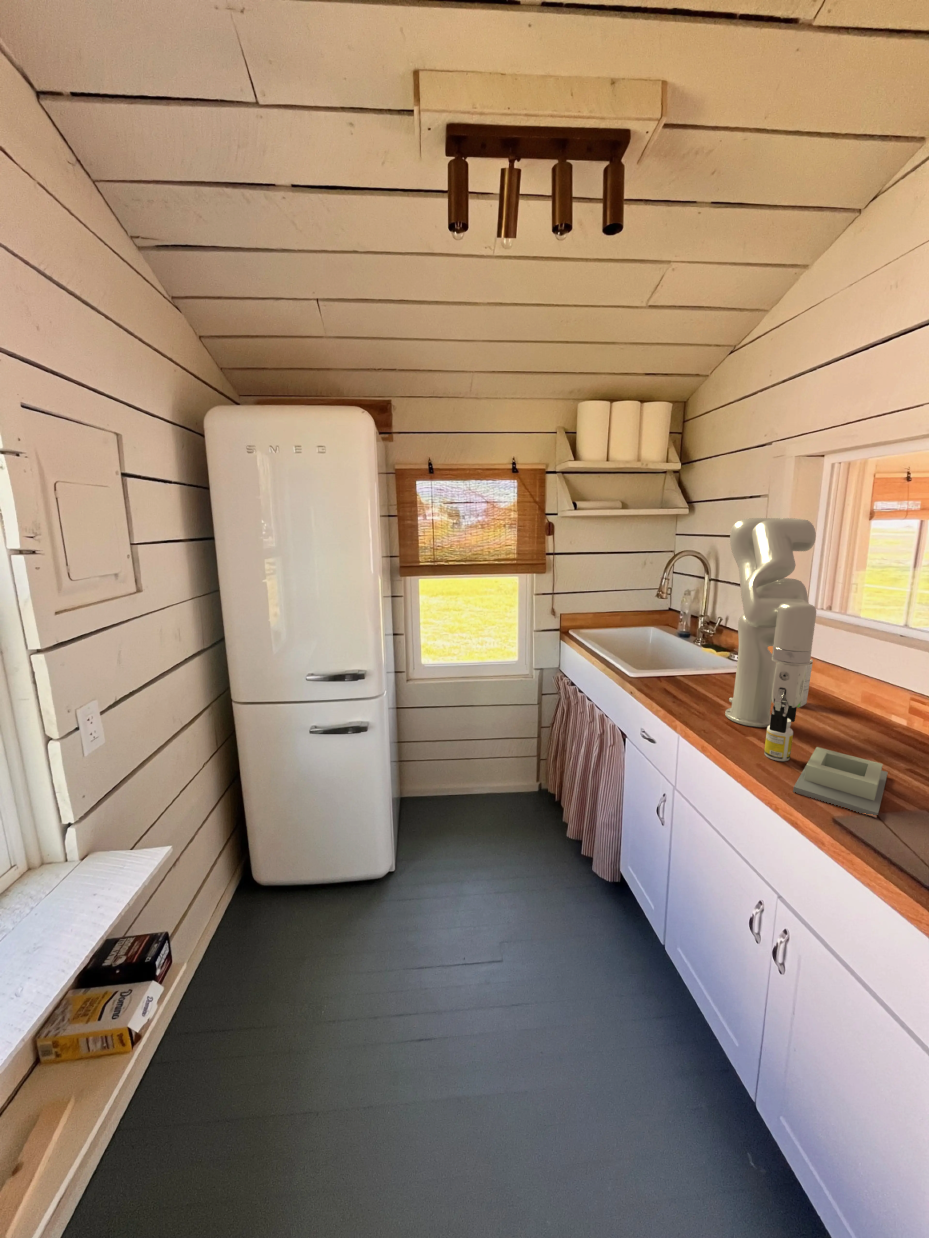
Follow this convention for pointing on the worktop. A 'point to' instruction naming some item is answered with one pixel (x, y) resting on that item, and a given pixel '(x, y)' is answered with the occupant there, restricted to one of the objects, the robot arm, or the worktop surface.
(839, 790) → the socket board
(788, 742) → the supplement bottle
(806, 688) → the syrup box
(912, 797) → the worktop surface
